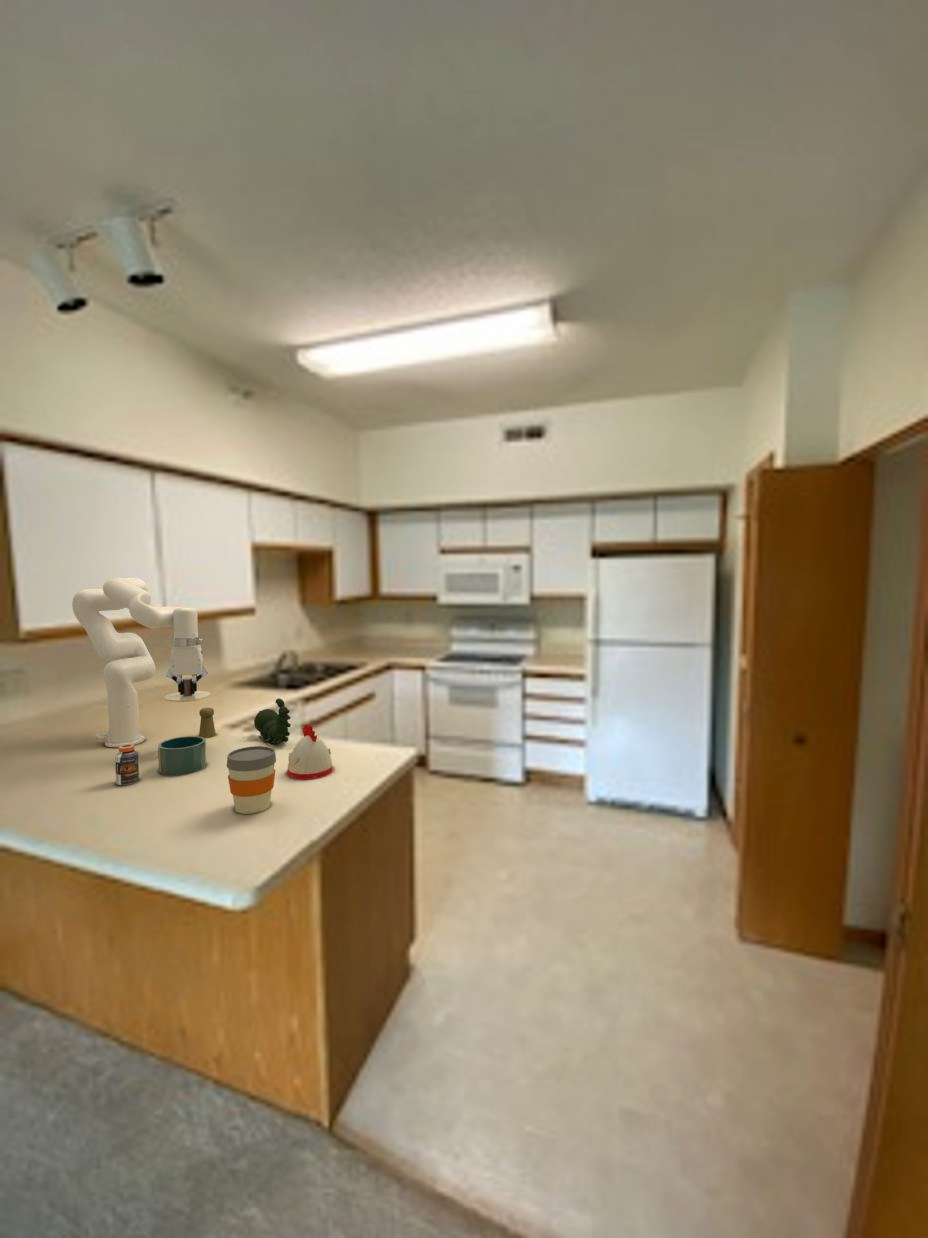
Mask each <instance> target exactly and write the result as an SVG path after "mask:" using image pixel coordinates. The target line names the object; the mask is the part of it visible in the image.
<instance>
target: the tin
mask: <svg viewBox="0 0 928 1238" xmlns="http://www.w3.org/2000/svg"><path fill="white" fill-rule="evenodd" d="M206 744H207V738H203V737H199V735H196V736H195V735H188V736H187V735H186V736H178V737H172V738H168V739H166V740H163V741H161V742H159V743H158V744H157V758H158V759H157V761H158V772H159V773H160V774H161V775H164V776H182V775H187V774H192V773H196V772H198V771H200V770H203V769H204V768H205V767H206V766H207V745H206Z"/></svg>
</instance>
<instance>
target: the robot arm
mask: <svg viewBox="0 0 928 1238" xmlns="http://www.w3.org/2000/svg"><path fill="white" fill-rule="evenodd" d="M151 602H152V597H151V594H150V592H149V589H148V585H147V583H146V582H145V581H144V580H143V579H141V578H139V577H112V578H110V579H107V580H106V581H105V582H104V583H103V585H102V588H85V589H82V590H80V591H77V592H76V593H75V594H74V596H73V597H72V601H71V603H72V604H71V606H72V611H73V614H74V617H75V618H76V620H77V621H78V622H79V624H80V625H81V626H82V628H83V629H84V630H85V632H86V634H87V636H88V638H89V640H90V642H91V644H92V646H93V648H94V650H95V651H96V653H97V655H98V657H99V658H100V659H102V660H105V661H106V660H108V661H109V660H110V662H108V663H107V664H106V665H105V666H104V668H103V672H102V674H103V679H104V683H105V687H106V693H107V710H108V731H107V732H106V733H96V734H95V739H96V740H98V741H102V740H105V741H104V746H105V747H108V748H119V746H122V745H126V744H133V745H134V746H135V745H139V744H141V743H143V742H145V739H146V738H145V736H144V735H142V734H141V733H140V708H139V694H138V691H137V690H136V688H135V687H134V685H133V684H135V683H139V682H143V681H148V680H151V679H152V678H153V677H154V676H155V674H156V664H155V662H154V659H153V658H152V655H151V653H150V652H149V650H148V648H147V646H146V644H145V642H144V640H143V639H142V637H141V636H139V635H138V634H137V633H134V632H117V630H116V628H115V626H114V625H113V623H112V622H111V620H110V619H108V618H107V617H106V616H105V615H103V614H102V613H100V612H108V611H109V612H110V611H119V610H124V609H128V611H129V614H130V617H131V618H132V620H134V622H136V623H138V624H139V625H141V626H143V627H145V628H148V629H152V630H159V629H168V628H173V643H174V644H173V646H172V647H171V651H170V661H169V662H170V664H169V669H168V671H167V673H166V674H165V677H166V678H168V679H171V680H173V681H174V682H175V683H176V684H177V693H178V692H180V695H183V680H182V679H183V676H191V678H192V684H191V685H192V694H195V691H198V682H199V681H200V680H201V679H202V678H204V677H206V676H207V675H208V674H209V673H208V671H207V669H206V668H205V666H204V655H203V650H202V645H199V644H201V643H203V641H204V639H203V638H200V637H199V622H198V621H199V620H198V619H199V618H198V610H197V609H196V607H182V606H178V605H170V606H169V605H168V606H150V605H151ZM111 660H112V661H111Z"/></svg>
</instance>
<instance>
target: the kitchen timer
mask: <svg viewBox="0 0 928 1238" xmlns="http://www.w3.org/2000/svg"><path fill="white" fill-rule="evenodd" d="M313 729H314V728H313V726H311V725H310V724H309V725H308V724H304V726H303V727H302V734H303V737H302V738H300V739H299V740H298V742H297V743H296V744H295V745H294V747H293V748H292V751H291V752H289V753H288V759H287V760H288V761H287V762H288V763H287V776H289V778H292V779H296V780H313V779H319V778H322V777H326V776H327V775H329V774H330V773H332V772H333V760H332V758H331V757H332V756H331V755H332V753H331V752H332V751H331V748H328V746H327V745H326V744H325V742H324V741H323V740H322V739H321V738H319V737H318V735H316V730H313Z"/></svg>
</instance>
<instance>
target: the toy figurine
mask: <svg viewBox="0 0 928 1238" xmlns="http://www.w3.org/2000/svg"><path fill="white" fill-rule="evenodd" d="M274 702H275V704H276V705H277V707H278V711H277V712H276V711H275V710H274V709H271V708H265V709H262V710H259V711H258V712H257V713H256V715H255V717H254V719H253V725H254V728H255V730H256V731H258V733H259V734H260V736H261V739H262V740H263V741H266V742H267V744H268V745H272V744H274V745H277V744H279V743H281V742H284V743H287V742H289V736H290V735H291V733H290V731H289V728H291V726H292V724H291V723H290V722H289V720H290V719H291V716H290V715H289V714H290V712H291V711H290V709H288V706H287V707H286V706H285V701H284V700H283V699H282V698H276V699H275V701H274Z"/></svg>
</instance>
